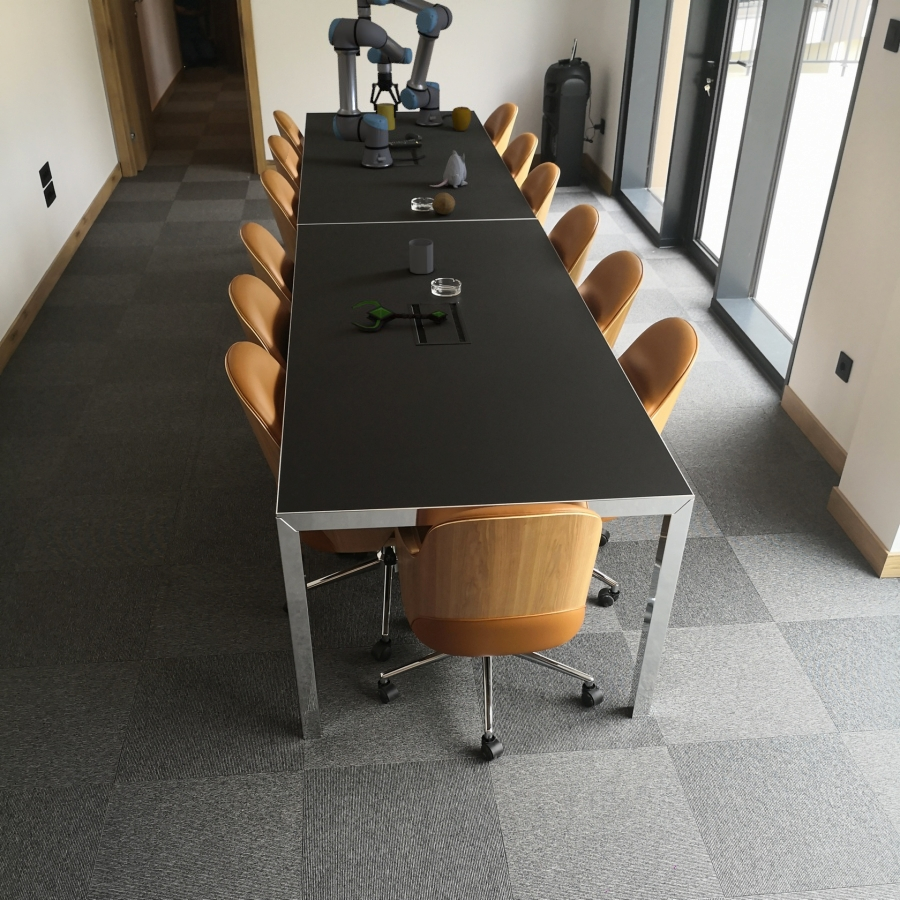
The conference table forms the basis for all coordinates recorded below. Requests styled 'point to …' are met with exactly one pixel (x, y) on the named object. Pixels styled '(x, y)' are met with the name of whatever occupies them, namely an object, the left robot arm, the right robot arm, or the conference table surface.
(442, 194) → the potato
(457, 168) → the toy
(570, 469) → the conference table surface
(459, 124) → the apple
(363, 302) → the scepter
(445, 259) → the conference table surface
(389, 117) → the canister
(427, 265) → the cup
